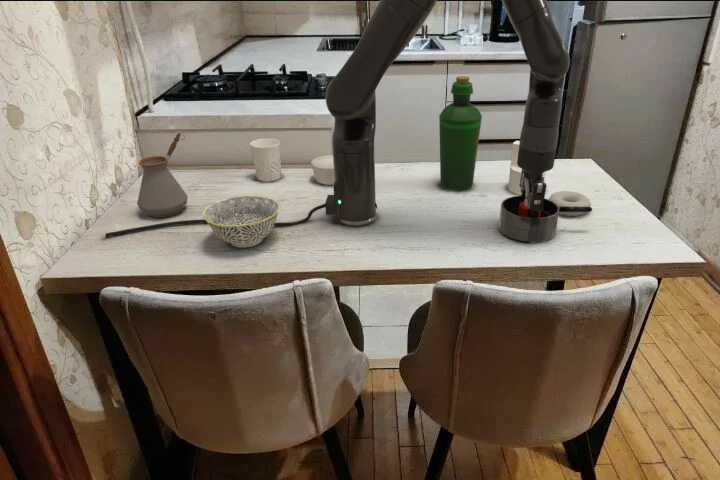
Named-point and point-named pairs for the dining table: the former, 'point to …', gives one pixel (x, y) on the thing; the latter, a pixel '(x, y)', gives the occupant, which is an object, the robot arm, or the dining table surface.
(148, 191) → the coffee pot
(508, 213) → the grey round hollow bowl
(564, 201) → the donut
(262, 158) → the beige cylinder
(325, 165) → the ramekin
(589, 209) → the handle
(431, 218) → the dining table surface
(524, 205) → the ketchup bottle
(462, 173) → the bottle
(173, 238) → the dining table surface
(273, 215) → the bowl
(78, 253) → the dining table surface
